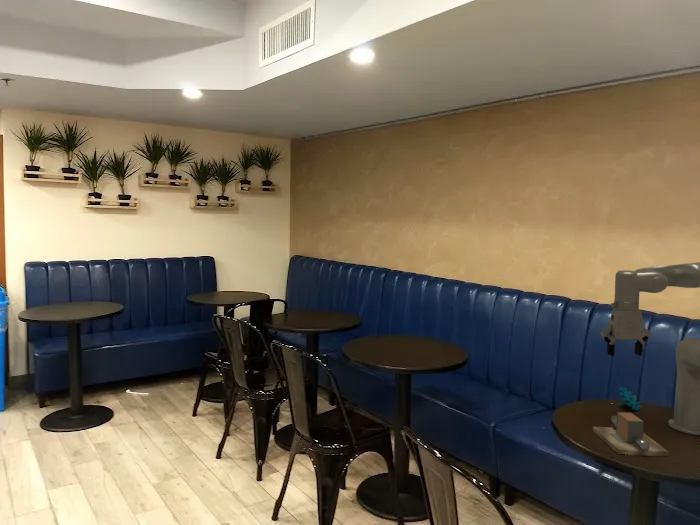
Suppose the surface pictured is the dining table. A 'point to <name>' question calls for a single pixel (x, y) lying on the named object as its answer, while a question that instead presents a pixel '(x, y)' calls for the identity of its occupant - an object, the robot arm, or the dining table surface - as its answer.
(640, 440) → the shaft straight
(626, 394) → the gear
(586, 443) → the dining table surface
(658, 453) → the base
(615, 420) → the shaft angled
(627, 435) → the orange and grey block
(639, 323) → the robot arm
